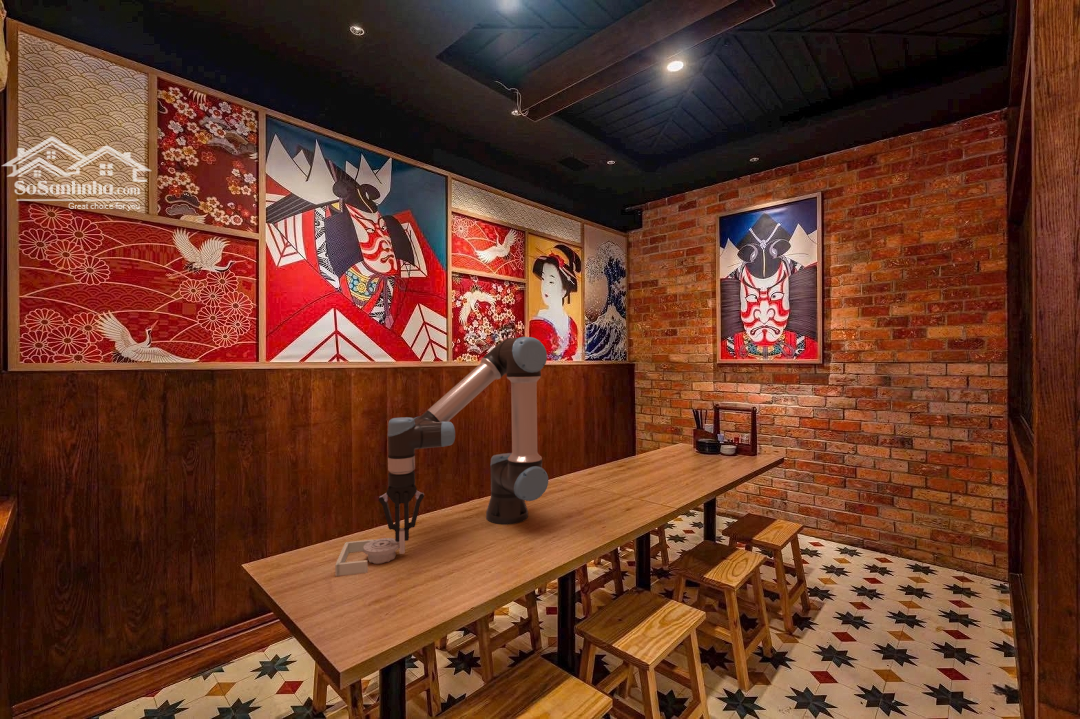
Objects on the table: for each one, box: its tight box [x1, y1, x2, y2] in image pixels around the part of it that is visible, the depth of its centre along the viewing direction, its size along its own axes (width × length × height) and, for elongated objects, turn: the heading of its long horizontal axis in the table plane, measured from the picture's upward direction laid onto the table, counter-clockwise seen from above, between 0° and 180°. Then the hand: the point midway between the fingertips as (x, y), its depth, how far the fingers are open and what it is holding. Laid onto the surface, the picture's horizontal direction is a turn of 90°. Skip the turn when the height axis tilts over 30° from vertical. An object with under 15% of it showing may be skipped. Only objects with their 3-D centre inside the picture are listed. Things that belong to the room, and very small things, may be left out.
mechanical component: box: [362, 537, 399, 565], centre depth 133 cm, size 10×4×10 cm
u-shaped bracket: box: [334, 538, 375, 577], centre depth 131 cm, size 8×16×3 cm, turn 14°
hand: (402, 551), depth 134 cm, fingers closed
